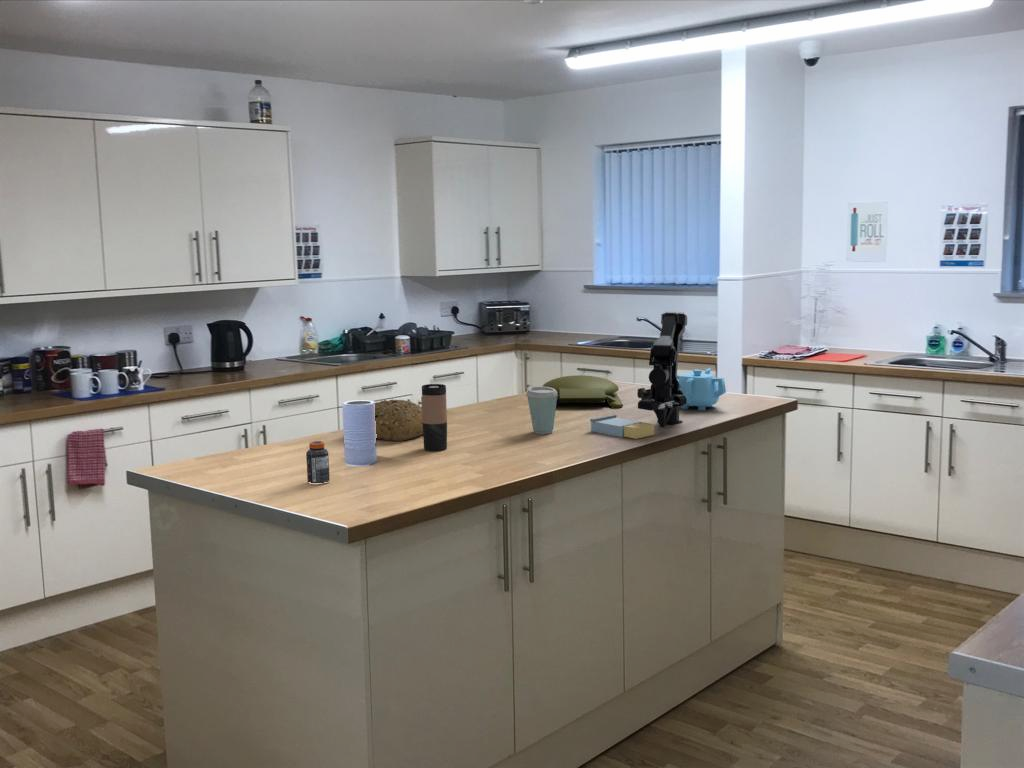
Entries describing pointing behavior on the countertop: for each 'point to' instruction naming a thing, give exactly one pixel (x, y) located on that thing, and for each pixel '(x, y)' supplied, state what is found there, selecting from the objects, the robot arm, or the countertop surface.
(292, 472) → the countertop surface
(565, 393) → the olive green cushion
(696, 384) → the teapot
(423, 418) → the travel mug
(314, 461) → the pill bottle
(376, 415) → the bread
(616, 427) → the ticket
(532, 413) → the disposable coffee cup
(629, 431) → the stub
